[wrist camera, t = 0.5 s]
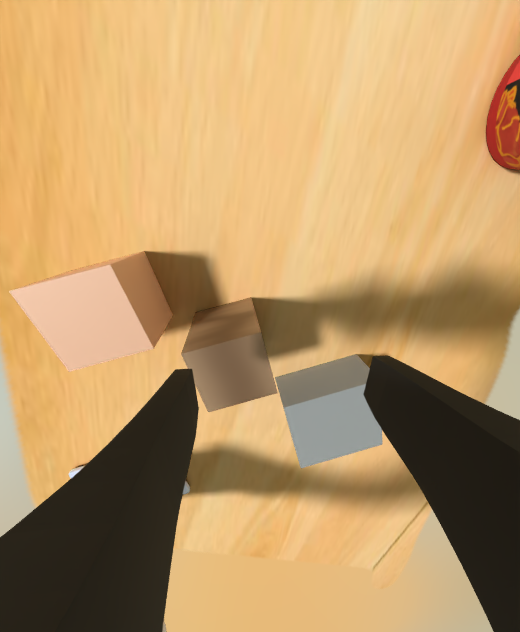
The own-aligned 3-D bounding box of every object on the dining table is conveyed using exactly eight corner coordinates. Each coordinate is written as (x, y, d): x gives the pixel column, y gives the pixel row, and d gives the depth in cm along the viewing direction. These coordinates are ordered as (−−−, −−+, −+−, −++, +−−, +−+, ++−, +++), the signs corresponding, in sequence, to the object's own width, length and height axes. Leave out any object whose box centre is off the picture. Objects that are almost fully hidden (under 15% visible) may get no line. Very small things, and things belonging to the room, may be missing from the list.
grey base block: (290, 431, 25) (300, 468, 21) (274, 375, 21) (283, 407, 18) (359, 411, 25) (382, 444, 21) (354, 352, 22) (380, 379, 18)
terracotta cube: (110, 331, 18) (69, 371, 13) (73, 269, 15) (9, 291, 11) (173, 314, 18) (153, 348, 13) (144, 251, 16) (110, 264, 11)
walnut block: (213, 358, 20) (208, 412, 14) (195, 312, 18) (181, 353, 12) (264, 344, 20) (277, 393, 14) (251, 297, 18) (261, 332, 12)
